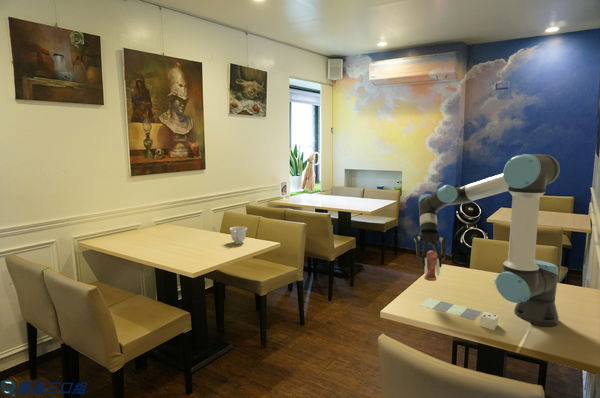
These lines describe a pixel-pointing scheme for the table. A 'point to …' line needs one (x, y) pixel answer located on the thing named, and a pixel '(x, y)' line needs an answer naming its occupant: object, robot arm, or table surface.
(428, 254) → the brown tall rounded piece
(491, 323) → the die
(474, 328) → the table surface
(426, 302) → the game board
